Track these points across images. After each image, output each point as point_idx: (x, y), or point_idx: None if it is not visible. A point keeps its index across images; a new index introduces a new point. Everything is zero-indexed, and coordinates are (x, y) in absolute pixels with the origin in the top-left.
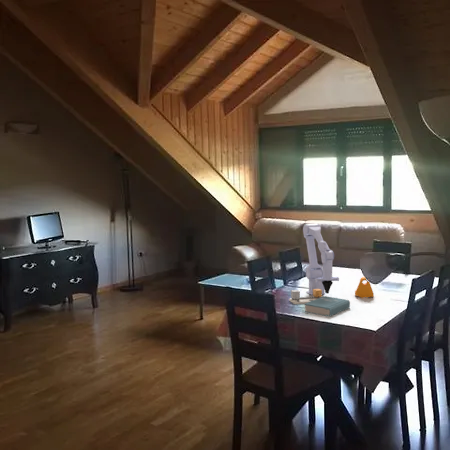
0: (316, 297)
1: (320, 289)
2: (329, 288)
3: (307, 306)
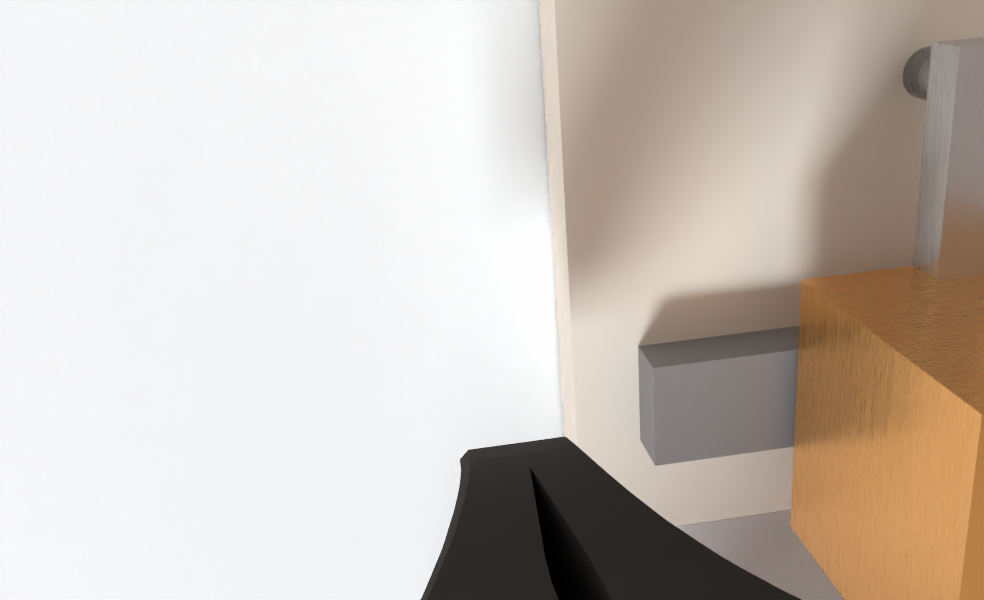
0: None
1: (960, 581)
2: (468, 567)
3: None
